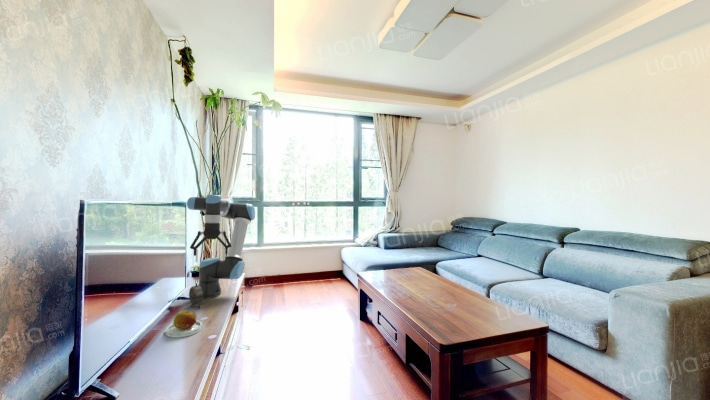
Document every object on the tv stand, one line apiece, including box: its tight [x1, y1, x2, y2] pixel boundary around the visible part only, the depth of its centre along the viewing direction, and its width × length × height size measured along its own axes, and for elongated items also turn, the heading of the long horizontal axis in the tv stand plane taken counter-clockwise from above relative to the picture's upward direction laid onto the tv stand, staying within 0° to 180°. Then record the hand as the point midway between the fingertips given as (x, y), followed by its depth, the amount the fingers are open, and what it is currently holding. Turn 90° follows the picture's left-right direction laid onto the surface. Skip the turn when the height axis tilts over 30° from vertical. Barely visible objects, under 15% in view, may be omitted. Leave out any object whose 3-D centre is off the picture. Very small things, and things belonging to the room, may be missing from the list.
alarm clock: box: [188, 278, 204, 309], centre depth 163 cm, size 11×5×16 cm, turn 47°
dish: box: [165, 319, 203, 339], centre depth 134 cm, size 15×15×2 cm
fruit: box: [172, 309, 197, 329], centre depth 134 cm, size 10×9×8 cm
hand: (210, 260), depth 155 cm, fingers open, 13 cm apart
